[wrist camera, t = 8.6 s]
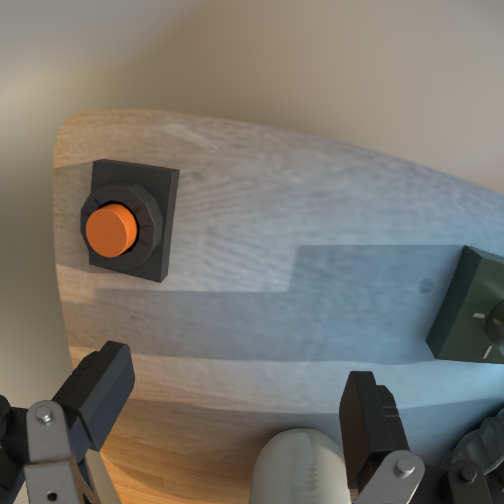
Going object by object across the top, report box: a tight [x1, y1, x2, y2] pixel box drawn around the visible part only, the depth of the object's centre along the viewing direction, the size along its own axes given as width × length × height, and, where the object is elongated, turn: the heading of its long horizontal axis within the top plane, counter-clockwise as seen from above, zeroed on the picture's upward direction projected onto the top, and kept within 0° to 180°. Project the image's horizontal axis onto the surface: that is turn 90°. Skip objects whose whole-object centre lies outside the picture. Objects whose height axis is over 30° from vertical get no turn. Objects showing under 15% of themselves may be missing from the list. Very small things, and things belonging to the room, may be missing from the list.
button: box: [86, 204, 137, 257], centre depth 22 cm, size 4×4×2 cm
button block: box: [81, 159, 180, 283], centre depth 24 cm, size 9×7×4 cm
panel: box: [426, 245, 504, 364], centre depth 24 cm, size 12×10×3 cm
